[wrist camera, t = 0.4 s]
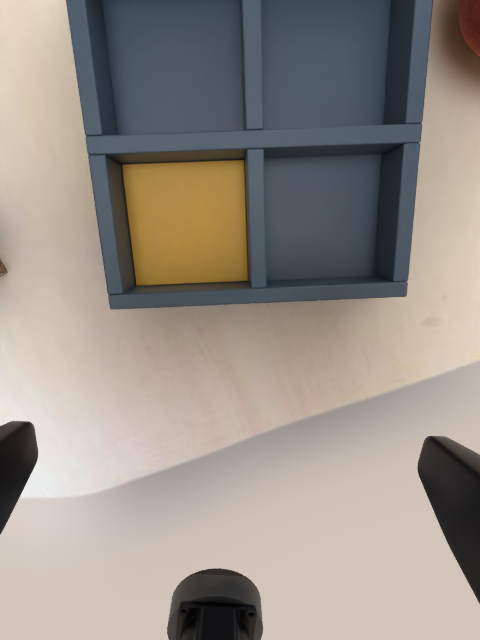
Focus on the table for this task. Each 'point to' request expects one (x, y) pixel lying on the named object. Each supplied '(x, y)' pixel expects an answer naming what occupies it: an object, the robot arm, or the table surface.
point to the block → (2, 269)
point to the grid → (252, 146)
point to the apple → (470, 23)
